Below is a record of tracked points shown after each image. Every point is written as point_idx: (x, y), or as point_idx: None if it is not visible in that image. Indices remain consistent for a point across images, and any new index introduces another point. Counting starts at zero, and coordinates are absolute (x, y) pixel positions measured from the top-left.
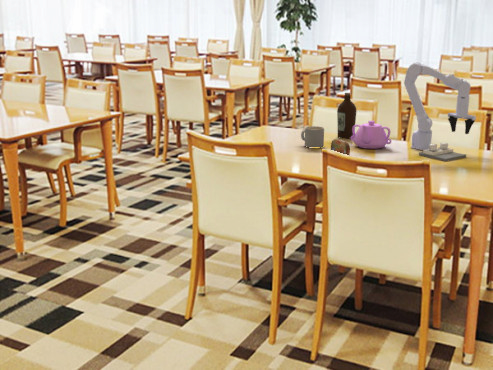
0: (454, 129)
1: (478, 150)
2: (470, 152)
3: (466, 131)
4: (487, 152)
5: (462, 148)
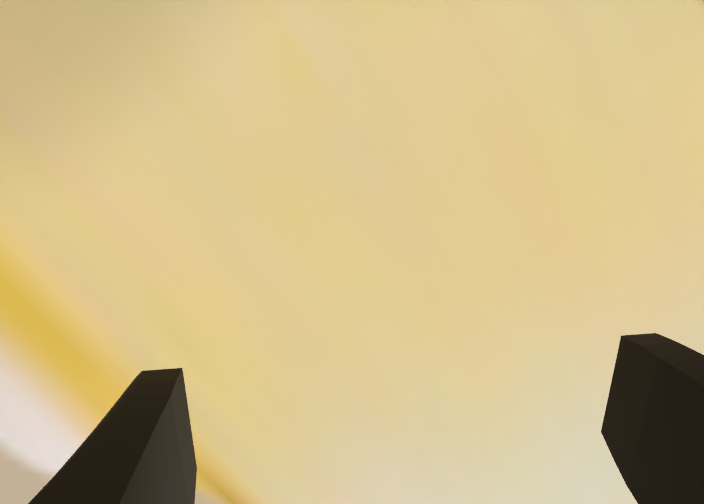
0: (643, 442)
1: None
2: (157, 261)
3: (108, 416)
4: (14, 442)
5: (410, 385)
